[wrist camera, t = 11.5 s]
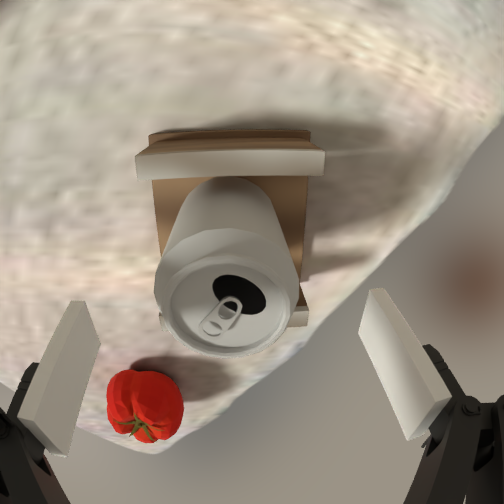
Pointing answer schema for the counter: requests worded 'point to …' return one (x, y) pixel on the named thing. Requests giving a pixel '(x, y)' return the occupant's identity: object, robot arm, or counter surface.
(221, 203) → the can
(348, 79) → the counter surface
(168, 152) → the cradle holder
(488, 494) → the robot arm
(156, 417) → the tomato
